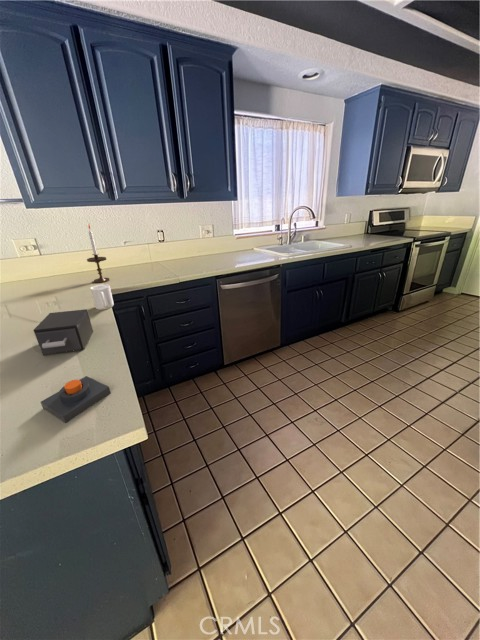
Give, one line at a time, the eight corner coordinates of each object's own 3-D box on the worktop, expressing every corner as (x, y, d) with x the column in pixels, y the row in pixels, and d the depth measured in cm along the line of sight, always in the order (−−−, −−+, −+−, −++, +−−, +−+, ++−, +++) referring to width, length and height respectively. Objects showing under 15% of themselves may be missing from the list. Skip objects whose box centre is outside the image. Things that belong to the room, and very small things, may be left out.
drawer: (77, 356, 87) (70, 335, 83) (37, 361, 84) (28, 340, 81) (89, 332, 102) (84, 313, 99) (56, 336, 100) (50, 317, 96)
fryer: (84, 349, 92) (76, 325, 88) (42, 355, 89) (33, 330, 85) (93, 331, 105) (87, 309, 101) (57, 335, 102) (49, 312, 98)
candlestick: (103, 277, 177) (90, 222, 162) (114, 279, 172) (102, 222, 158) (88, 282, 168) (73, 224, 153) (100, 284, 164) (85, 224, 149)
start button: (71, 396, 65) (69, 390, 64) (63, 391, 66) (61, 386, 66) (85, 387, 68) (83, 382, 67) (77, 383, 69) (75, 378, 69)
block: (65, 423, 62) (60, 410, 60) (43, 408, 66) (37, 396, 64) (110, 393, 71) (107, 381, 69) (88, 382, 76) (84, 370, 74)
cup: (113, 302, 134) (108, 283, 130) (115, 310, 125) (111, 289, 120) (95, 305, 130) (90, 285, 126) (96, 313, 121) (91, 292, 117)
